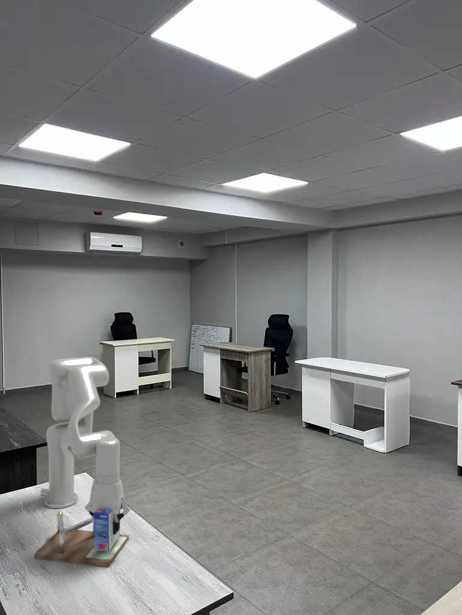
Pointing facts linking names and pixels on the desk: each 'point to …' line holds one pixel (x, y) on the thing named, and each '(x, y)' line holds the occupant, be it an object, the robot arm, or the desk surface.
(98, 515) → the ink cartridge box
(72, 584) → the desk surface
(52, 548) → the board
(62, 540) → the bent wire
